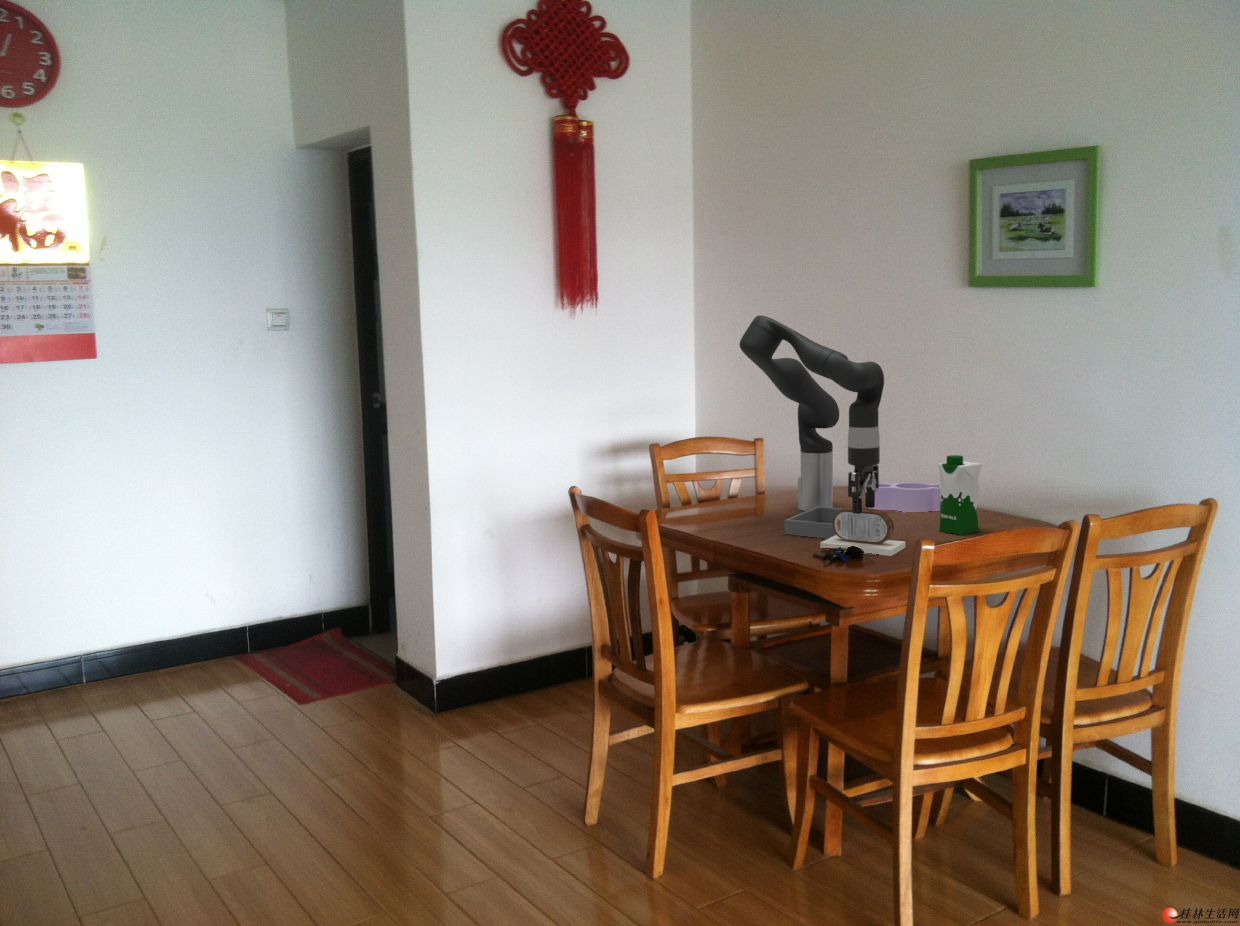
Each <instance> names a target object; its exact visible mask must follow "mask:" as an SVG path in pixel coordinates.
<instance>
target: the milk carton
mask: <svg viewBox="0 0 1240 926" xmlns="http://www.w3.org/2000/svg"><path fill="white" fill-rule="evenodd" d="M981 469H982V463H979V462H971V461H964V456H963V455H960V454H959V455H958V454H957V455H956V454H954V455H953V454H951V455H950V454H949V455H946V462H940V463H939V462H938V470H939V474H940V512H939V513H940V515H939V529H938V531H939V532H943V533H946V532H948V533H947V534H951V533H954V534H953V535H956V534H959V535H958V536H962V535H961V534H965V535H970V534H973V533H972V532H975V533H979V530H980V529H979V519H978V501H979V500H978V498H979V497H978V496H979V493H978V492H979V486H978V485H979V476H980V472H981ZM969 533H970V534H969Z"/></svg>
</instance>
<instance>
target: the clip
mask: <svg viewBox="0 0 1240 926" xmlns="http://www.w3.org/2000/svg"><path fill="white" fill-rule="evenodd" d="M874 493H875V507H873V508H867V509H877V510H897V511H896V512H898V511H902V512H901V513H906V512H925V513H929V512H928V511H932V512H934V511H940V512H941V487H940V483H927V482H918V481H917V482H912V481H910V482H909V481H908V482H907V481H905V482H897V483H896V482H895V483H890V482H889V483H887V482H879V488H878V489H876V492H874Z"/></svg>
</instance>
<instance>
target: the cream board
mask: <svg viewBox="0 0 1240 926" xmlns="http://www.w3.org/2000/svg"><path fill="white" fill-rule="evenodd" d="M851 546H855V547H858V548H860V549H862V550H863V551H864V552H867V553H872V554H871V555H876V554H879V555H878V556H887V557H888V556H889V557H892V556H893V555H896V554H897V553H899V552H901V551H902V550H904V549H906V541H903V540H901V541H900V540H894V539H893V540H892V539H888V540H887V541H885V542H883V543H881V544H869V543H860V542H850V541H845V540H842V539H841V538H839V537H838V536H837V535H835V536H833V537H831V538H829V539H824V540H822V541H820V544H819V547H820V548H838V547H841V548H848V547H851ZM820 548H819V549H820ZM867 553H866V554H867Z"/></svg>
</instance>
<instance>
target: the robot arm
mask: <svg viewBox="0 0 1240 926" xmlns="http://www.w3.org/2000/svg"><path fill="white" fill-rule="evenodd" d="M782 341H785V342H787V343H789V345H791V348H793V349H794V351H795V353H796V355H797V357H798V358H799V360H798V359H795V358H792V357H779V358H773V356H774V354H775V352H776V351H777V349H778V348H779V346H780V345H781V343H782ZM738 345H739V348H740V350H741V352H742V353H743V354H744V355H745V356H746V357H747V358H748V359H749V360H750V361H751V362H752V363H753V364H755V366H757V367H758V368H759V369H761V371H762V372H763V373H764V374H765V375H766V376H767V378H768V379H769V380H770V381H771V382H772V384H773V385H774V386H775V387H776V388H777V389H778V390H779V392H780V393H781V394H782V396H784V397H785V398H787V399H789V400H791V401H793V402H794V403H797V404H798V407H797V426H798V427H797V428H798V442H799V443H798V444H799V447H800V476H799V477H797V510H799V511H802V512H805V511H808V510H810V509H812V508H815V507H817V506H818V507H830V508H834V506H833V505H834V501H833V500H834V499H833V498H834V497H833V496H834V495H833V493H834V492H833V491H834V490H833V489H834V488H833V486H834V485H833V484H834V483H833V481H834V480H833V479H834V478H833V476H834V475H833V473H834V469H833V467H834V466H833V465H834V463H833V460H834V459H833V456H834V455H833V450H834V449H833V447H834V446H833V442H832V441H831V440H829V439H827V438H825V437H823V436H821V435H820V434H819V433H818V432H817V429H822V430H823V429H830V428H833V427H835V426H836V425H837V424H838V422H839V420H840V408H839V406H838V403H837V401H836V400H835V398H834V397H833V396H832V395H831V394H829V392H827V391H826V390H825V389H823V387H822V386H821V385H820V384H818V382H817V381H816V380H815V378H813V376H812V375H811V374H810V372H811V373H813V374H816V375H818V376H820V377H823V378H826V379H828V380H832V381H833V382H834V383H835V384H837V385H838V386H840V387H841V388H842V389H844V390H846V391H849V392H853V393H857V396H856V399H855V401H853V402H852V403H851V404H850V405H849V407H848V430H847V431H848V433H847V463H848V465H850V466H853V467H854V470H853V471H848V477H847V479H848V481H847V483H848V484H847V496H848V497H849V498H851V500H852V502H851V503H852V504H851V505H852V506H851V507H852V512H853V513H854V514H861V513H862V508H863V495H864V492H865V495H864V497H865V498H864V499H865V500H864V502H865V504H864V505H865V507H866V509H868V508H873V507H875V493H874V492H876V489H878V488H879V483H880V477H879V475H880V474H879V473H880V472H879V471H880V470H879V464H880V460H881V459H880V457H881V456H880V455H881V454H880V453H881V452H880V451H881V450H880V449H881V448H880V447H881V446H880V445H881V444H880V443H881V442H880V439H881V438H880V436H881V435H880V430H879V429H880V428H879V427H880V426H879V407H880V404H881V400H882V397H883V391H884V386H885V374H884V371H883V368H882V367H881V366H880V365H879V364H878V363H877V362H875V361H864V362H855V361H852V360H849V358H848V356H847V355H846V354H844V353H843V352H840V351H838V350H835V349H832V348H829V347H828V346H825V345H822V344H820V343H817V342H816V341H814V340H812V339H810V338H808V337H806V336H805V335H803V334H801V333H800V332H798V331H796V330H794V329H793V328H791V327H789V326H787V325H785V324H783V323H781V321H780V322H779V321H777V320H776V319H774V318H771V317H769V316H766V315H761V314H760V315H756V316H755V317H754V319H753V320H752V321H751V323H750V324H749V326H748V327H747V329H746V330H745V332H744V334H743V335H742V336H741V338H740V340H739V344H738ZM800 361H801V362H800ZM809 371H810V372H809Z"/></svg>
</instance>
